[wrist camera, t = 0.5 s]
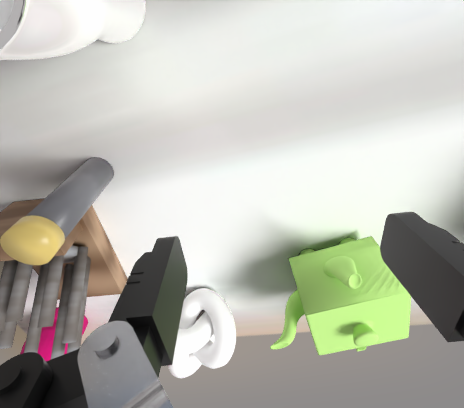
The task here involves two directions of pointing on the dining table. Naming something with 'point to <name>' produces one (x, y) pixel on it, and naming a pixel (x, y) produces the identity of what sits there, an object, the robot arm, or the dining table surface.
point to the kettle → (346, 298)
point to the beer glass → (64, 25)
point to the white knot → (203, 333)
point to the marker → (56, 214)
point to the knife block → (57, 282)
